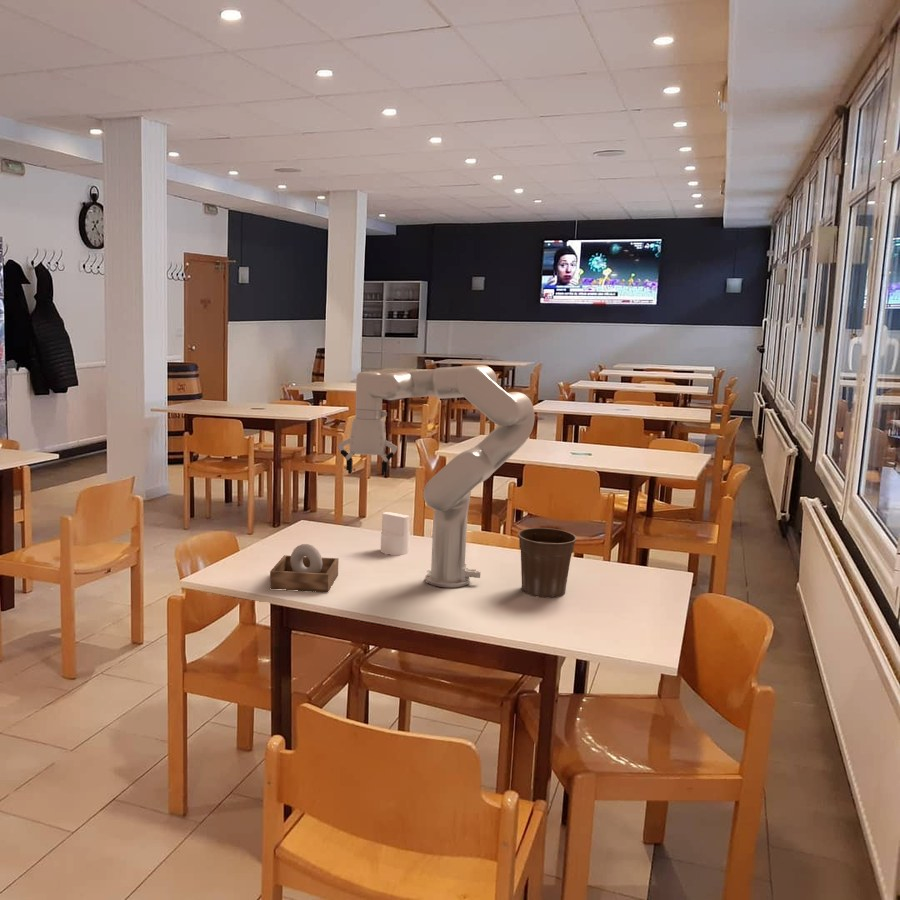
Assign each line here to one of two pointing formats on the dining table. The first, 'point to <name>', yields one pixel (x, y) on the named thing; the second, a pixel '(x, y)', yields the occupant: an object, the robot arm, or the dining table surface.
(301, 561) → the donut
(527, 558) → the plant pot
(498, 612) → the dining table surface
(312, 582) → the walnut box
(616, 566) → the dining table surface
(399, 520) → the white block
